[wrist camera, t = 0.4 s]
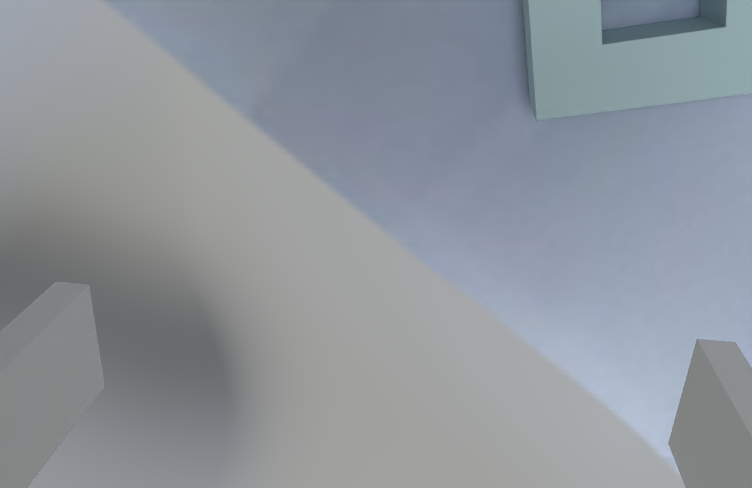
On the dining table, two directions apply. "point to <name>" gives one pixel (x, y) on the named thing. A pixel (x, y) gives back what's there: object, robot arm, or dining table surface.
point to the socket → (633, 57)
